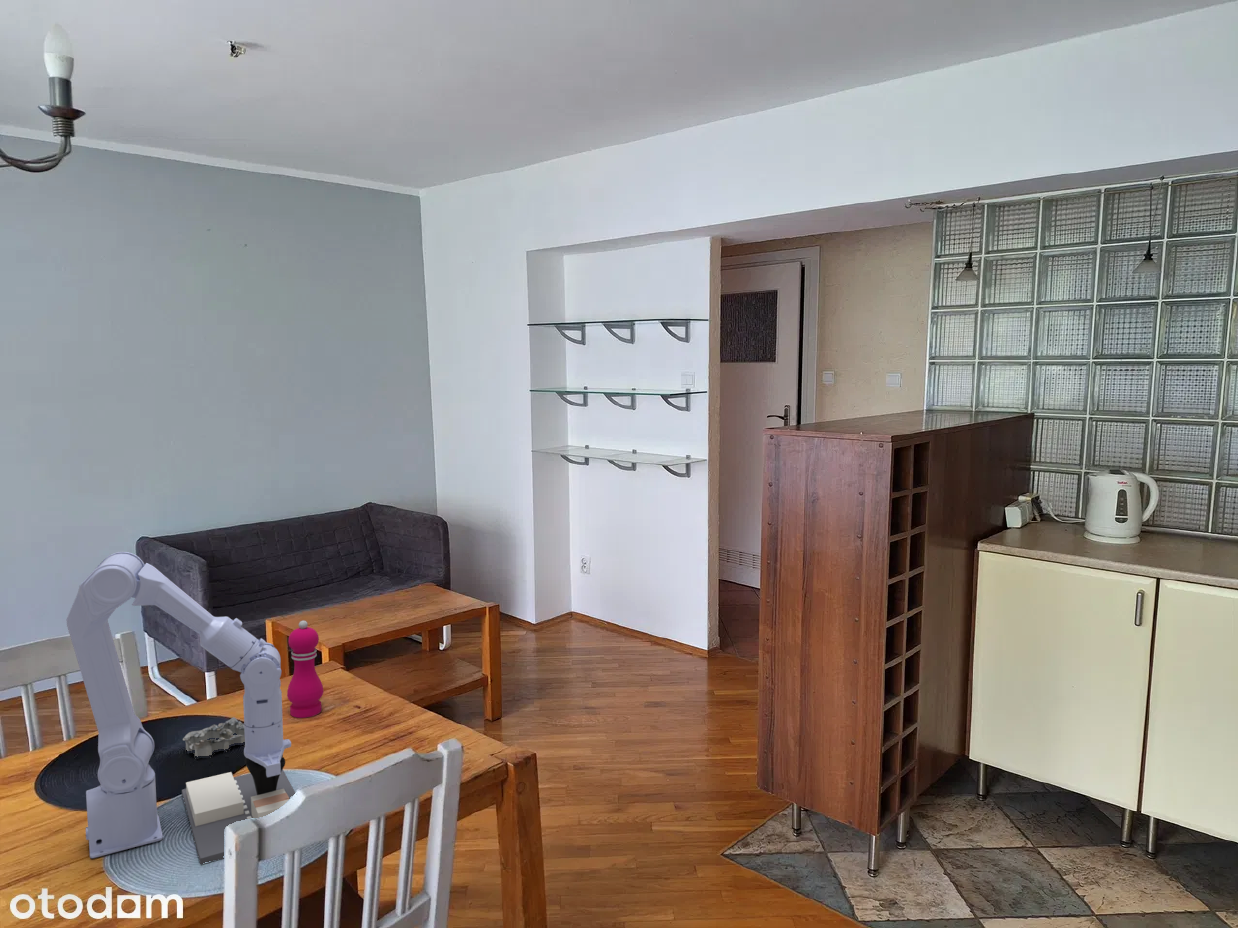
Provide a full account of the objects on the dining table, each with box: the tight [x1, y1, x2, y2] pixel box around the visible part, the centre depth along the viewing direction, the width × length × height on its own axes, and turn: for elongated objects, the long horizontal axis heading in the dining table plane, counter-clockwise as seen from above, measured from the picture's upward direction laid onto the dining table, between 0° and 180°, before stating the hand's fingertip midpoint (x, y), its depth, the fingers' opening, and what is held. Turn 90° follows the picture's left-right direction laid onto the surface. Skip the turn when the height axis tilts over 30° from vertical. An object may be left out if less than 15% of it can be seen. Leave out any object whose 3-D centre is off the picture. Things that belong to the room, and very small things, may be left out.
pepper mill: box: [286, 620, 324, 719], centre depth 175 cm, size 7×7×20 cm
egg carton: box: [182, 716, 245, 757], centre depth 160 cm, size 11×8×4 cm
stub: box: [251, 789, 289, 818], centre depth 132 cm, size 5×6×3 cm
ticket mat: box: [181, 768, 296, 865], centre depth 136 cm, size 16×24×3 cm, turn 33°
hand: (266, 800), depth 136 cm, fingers closed
